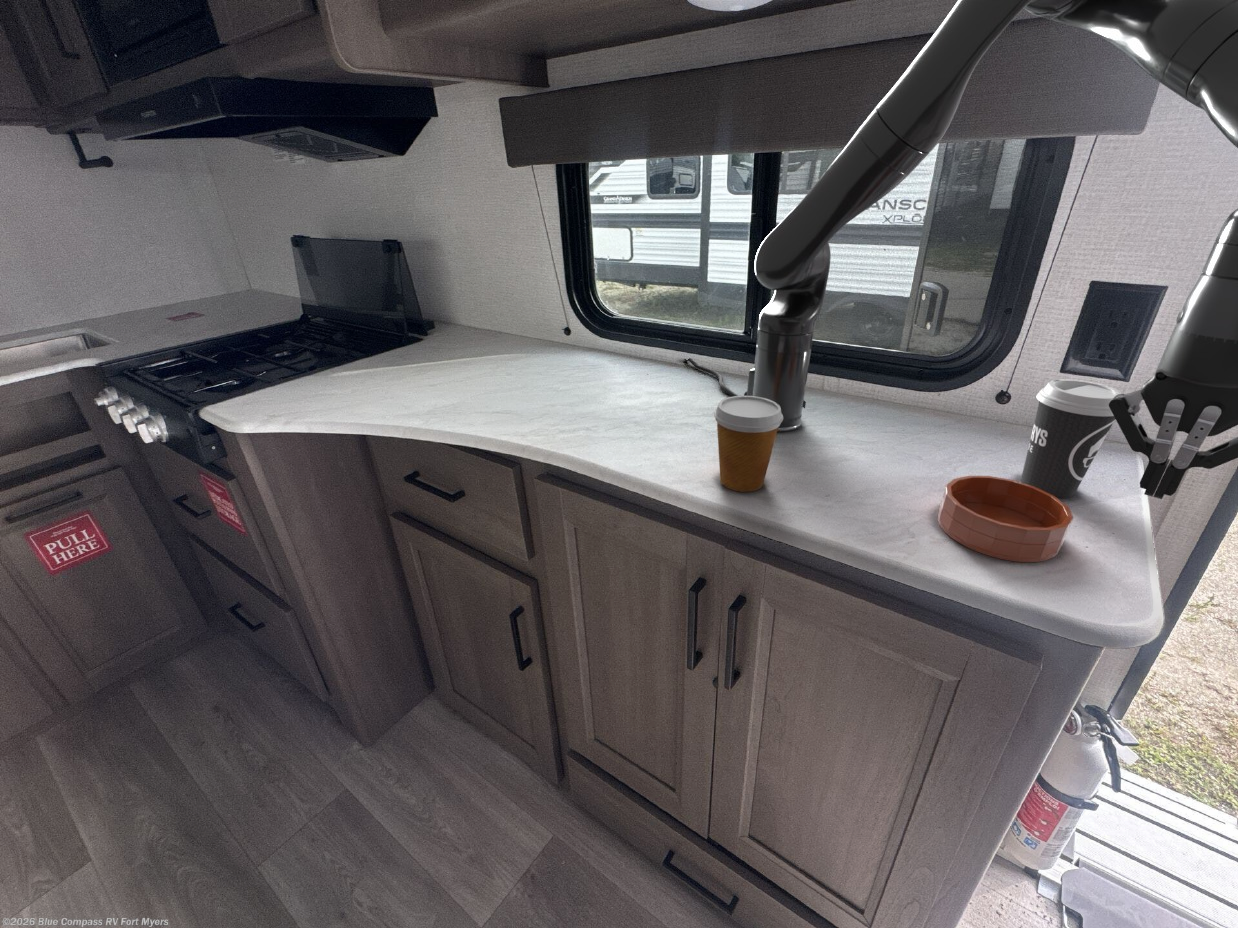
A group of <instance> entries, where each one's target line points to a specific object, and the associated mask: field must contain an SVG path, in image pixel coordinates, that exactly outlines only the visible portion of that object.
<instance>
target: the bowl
mask: <svg viewBox="0 0 1238 928" xmlns="http://www.w3.org/2000/svg"><path fill="white" fill-rule="evenodd" d="M1073 521H1074V515H1073V513H1072V511H1071V509H1070V507H1069V506H1068V505H1067V504H1066V503H1065V502H1063V501H1061V499H1060V498H1057V497H1055V496H1053V495H1051V494H1049V493H1047V492H1045V491H1043V490H1041V489H1039V488H1036V487H1034V486H1031V485H1028V484H1024V483H1021V481H1017V480H1014V479H1010V478H1004V477H998V476H992V475H965V476H961V477H956V478H953V479H952V480H951V481H949V482H948V483H947V484H946V485H945V488H944V491H943V495H942V498H941V500H940V505H939V508H938V515H937V522H938V525H939V527H940V528H941V530H942V531H943V532H944V533H945V534H946V535H947V536H949V537H950V538H951V539H952V540H954V541H955V542H957V543H958V544H960V545H962V546H964V547H966V548H968V549H970V550H973V551H974V552H976V553H980V554H982V555H986V556H989V557H992V558H996V559H1000V560H1005V561H1010V562H1017V563H1037V562H1044V561H1048V560H1050V559H1053V558H1054V557H1056V556H1057V555H1058V553H1059V552H1060V550H1061V548H1062V547H1063V544H1064V542H1065V539H1066V537H1067V535H1068V532H1069V531H1070V528H1071V525H1072V523H1073Z"/></svg>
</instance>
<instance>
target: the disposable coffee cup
mask: <svg viewBox="0 0 1238 928" xmlns="http://www.w3.org/2000/svg"><path fill="white" fill-rule="evenodd" d="M713 415H714V418H715V421H716V427H717V428H716V430H717V446H718V462H719V463H718V464H719V482H720V484H721V485H722V486H724V487H725V488H727V489H729V490H732V491H735V492H743V493H744V492H748V493H749V492H755V491H757V490H759V489H761V488H762V487H763V486H764V483H765V479H766V475H767V472H768V468H769V464H770V460H771V457H772V453H773V450H774V445H775V442H776V438H777V434H778V432H779V431H778V427H779V426H780V424H781V422H782V421H783V415H782V413H781V407H780V406H779V405H778V404H777V403H776V402H774V401H772V400H769V399H766V398H762V397H755V396H744V395H738V396H733V397H731V396H729V397H725V398H723V399H721V400H719V402H718V404H717V407H716V408H715V409H714V411H713Z"/></svg>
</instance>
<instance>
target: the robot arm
mask: <svg viewBox="0 0 1238 928" xmlns="http://www.w3.org/2000/svg"><path fill="white" fill-rule="evenodd" d="M1023 10H1025V11H1026V12H1028V13H1029V14H1031V15H1033V16H1035V17H1038V18H1043V19H1046V20H1050V21H1054V22H1056V23H1060V24H1064V25H1067V26H1070V27H1073V28H1076V29H1079V30H1082V31H1085V32H1088V33H1090V34H1092V35H1094V36H1097V37H1098V38H1101V39H1102V40H1104V41H1106V42H1108V43H1110V44H1111V45H1113V46H1115V47H1116V49H1118V50H1120V51H1121V52H1122V53H1123V54H1125V55H1126V56H1127V57H1128V58H1129V59H1130V60H1131V61H1133V62H1134V63H1135V64H1136V65H1137V66H1138V67H1140V69H1141V70H1143V71H1144V72H1145V73H1147V74H1148V75H1149V76H1151V77H1152V78H1153V79H1154V80H1156V81H1157V82H1159V83H1160V84H1161V85H1163V86H1165V87H1166V88H1168V89H1169V90H1170V91H1171V92H1173V93H1175V94H1176V95H1178V96H1179V97H1181V98H1182V99H1184V100H1185V101H1187V102H1188V103H1190V104H1192V105H1193V106H1195V107H1197V108H1198V109H1201V110H1203V111H1204V112H1205V113H1206V115H1207V116H1208V118H1209V120H1210V121H1211V122H1212V123H1213V125H1215V127H1216V128H1217V129H1218V130H1219V131H1220V132H1221V133H1222V135H1223V136H1224V137H1225V138H1226V139H1227V140H1228V141H1229V142H1230V143H1231V144H1232V145H1233V146H1234V147H1235V148H1236V149H1238V0H957V2H956V3H955V5H954V6H953V7H952V9H951V10H950V12H949V13H948V14H947V16H946V17H945V19H944V20H943V21H942V23H941V24H940V25H939V27H938V28H937V30H936V31H935V32H934V33H933V35H932V36H931V38H930V39H929V40H928V41H927V43H926V44H925V45H924V46H923V48H922V49H921V50H920V52H919V53H918V54H917V56H916V57H915V58H914V60H913V61H912V62H911V63H910V65H909V66H908V67H907V69H906V70H905V71H904V73H902V75H901V76H900V77H899V79H898V80H897V81H896V83H895V84H894V85H893V87H891V88H890V90H889V91H888V93H886V94H885V96H884V97H883V98H882V99H881V100H880V102H879V103H878V104H877V105H876V106H875V107H874V109H873V110H872V111H871V113H870V114H869V115H868V116H867V118H866V119H865V120H864V121H863V123H861V125H860V126H859V127H858V129H857V130H856V131H855V132H854V134H853V135H852V137H851V138H850V140H849V141H848V142H847V144H845V146H844V147H843V149H842V150H841V151H840V152H839V153H838V155H837V156H836V157H835V159H834V160H833V161H832V162H831V163H830V165H829V166H828V167H827V168H826V170H825V171H824V172H823V174H822V175H821V176H820V177H819V178H818V180H817V182H816V183H815V184H814V185H813V187H812V188H811V189H810V190H809V192H808V193H807V194H806V195H805V196H804V197H803V199H801V201H800V202H799V203H798V204H797V205H796V206H795V207H794V208H793V209H792V210H791V211H790V212H788V214H787V215H786V216H785V217H784V218H783V219H782V221H780V222H779V223H778V224H777V226H776V227H775V228H773V229H772V231H770V233H769V234H768V235H767V236H766V237H765V238H764V240H763V241H762V242H761V244H760V246H759V248H758V249H757V252H756V255H755V259H754V273H755V277H756V279H757V281H758V282H759V284H760V285H762V286H763V287H765V288H766V289H769V290H772V291H774V293H773V296H772V297H771V300H770V301H769V303H768V304H767V305H766V306H765V307H764V308H763V309H762V310H761V312H760V314H759V317H758V324H757V325H758V326H757V327H758V328H757V336H756V347H755V358H754V367H753V368H752V369H750V370H749V371H748V377H747V378H748V379H747V388H746V389H747V390H746V391H745V392H744V393H743V396H755V397H762V398H766V399H769V400H772V401H774V402H776V403H777V404H778V405H779V406H780V407H781V413H782V415H783V421H782V422H781V424H780V426H779V427H778V431H777V432H790V431H794V430H797V429H798V428H800V427H801V425H802V417H803V409H806V405H807V401H805V394H806V388H807V381H808V374H809V367H810V360H811V353H812V346H813V339H814V333H815V326H816V322H817V320H818V318H819V316H820V314H821V313H822V312H821V311H822V309H823V306H824V301H825V295H826V289H827V286H828V285H827V284H828V280H829V276H830V268H831V259H832V258H831V254H832V253H831V246H830V242H829V241H830V240H831V239H832V238H833V237H834V236H835V235H836V234H837V233H838V232H839V231H840V230H841V229H843V227H844V226H846V225H847V224H848V223H849V222H851V221H852V220H854V219H855V218H856V217H857V216H859V215H860V214H862V213H864V212H865V211H866V210H867V209H870V207H872V206H874V204H876V203H878V202H879V201H880V200H881V199H883V198H884V197H885V196H887V195H888V194H889V193H891V192H892V191H893V190H894V189H895V188H897V187H898V186H899V185H900V184H901V183H902V182H903V181H904V180H905V179H906V178H907V177H908V176H910V174H912V172H913V171H914V170H915V169H916V168H917V167H918V166H919V165H920V164H921V163H922V162H923V161H924V160H925V159H926V157H927V156H929V154H930V153H931V152H932V151H933V150H934V149H935V147H937V145H938V144H939V142H941V140H942V138H943V137H944V136H945V134H946V133H947V130H948V129H949V127H950V125H951V123H952V121H953V119H954V116H955V114H956V112H957V110H958V107H959V105H960V103H961V100H962V98H963V96H964V92H965V90H966V88H967V85H968V83H969V81H970V79H971V76H972V74H974V73H973V72H974V71H975V69H976V67H977V66H978V64H979V63H980V61H981V59H982V58H983V56H984V55H985V54H986V52H987V51H988V50H989V49H990V47H991V46H992V44H993V43H994V42H995V41H996V40H997V39H998V37H1000V35H1001V34H1002V33H1003V32H1004V31H1005V29H1006V28H1007V27H1008V26H1009V25H1010V24H1011V23H1012V21H1013V20H1014V19H1015V18H1016V17H1017V16H1018V15H1019V14H1020V13H1021V12H1022V11H1023ZM1201 271H1202V273H1200V275H1199V277H1198V279H1197V281H1196V282H1195V284H1194V286H1193V288H1192V289H1191V290H1190V292H1189V294H1188V296H1187V297H1186V299H1185V302H1184V304H1183V306H1182V309H1181V310H1180V311H1179V312H1178V314H1177V317H1176V320H1175V321H1176V323H1175V325H1174V327H1173V330H1172V333H1171V335H1170V337H1169V340H1168V341H1167V344H1166V346H1165V349H1164V352H1163V354H1162V357H1161V358H1160V361H1159V363H1158V365H1157V367H1156V370H1155V371H1154V374H1153V376H1152V377H1150V378H1149V379H1148V380H1147V381H1146V382H1144V384H1143V385H1142V386H1141V389H1137V390H1135V391H1132V392H1128V393H1126V394H1125V393H1122V394H1118V395H1116V396H1115V397H1114V398H1113V399H1112V400H1111V401H1110V403H1109V408H1110V410H1111V411H1112V413H1113V415H1114V417H1115V421H1116V423H1117V425H1118V426H1119V429H1120V430H1121V432H1122V435H1123V436H1124V438H1125V440H1126V441H1127V444H1128V445H1129V448H1130V449H1131V450H1132V451H1133V452H1134V453H1141V454H1143V455H1145V456H1146V457H1147V458H1148V464H1147V465H1146V468H1145V469H1144V472H1143V474H1142V476H1141V478H1140V481H1139V488H1140V489H1144V490H1145V491H1144V493H1143V495H1145V496H1147V497H1153V498H1155V499H1159V500H1162V499H1163V498H1164V496H1169V497H1171V496H1173V495H1175V493H1176V492H1177V490H1178V488H1179V486H1180V485H1181V482H1182V480H1183V478H1184V476H1185V474H1186V473H1187V471H1188V470H1189V469H1192V468H1203V469H1206V470H1211V469H1215V468H1216V467H1217V468H1218V467H1219V466H1222V465H1224V464H1227V463H1229V462H1231V461H1234V460H1236V459H1238V436H1237V437H1234V438H1232V439H1230V440H1228V441H1225V442H1223V443H1220V444H1218V445H1216V446H1214V447H1212V448H1209V449H1207V450H1205V451H1204V450H1200V449H1201V446H1202V445H1203V444H1204V442H1205V440H1206V439H1207V437H1208V438H1209V437H1214V436H1217V435H1220V434H1222V433H1224V432H1226V431H1228V430H1230V429H1233V428H1235V427H1237V426H1238V208H1236V209H1235V210H1233V211H1232V212H1231V213H1230V214H1229V215H1228V216H1227V218H1226V219H1225V221H1224V222H1223V224H1222V225H1221V227H1220V230H1219V232H1218V234H1217V235H1216V238H1215V241H1214V243H1213V245H1212V247H1211V249H1210V252H1209V254H1208V257H1207V259H1206V261H1205V264H1204V266H1203V269H1202V270H1201ZM687 362H689V363H690V364H691V365H692V366H694V367H695V368H696V369H698V370H700V371H703V372H705V373H708V374H711V375H712V376H714V377H716V378H717V379H718V384H719V387H720V389H721V390H722V391H724V393H726V394H727V395H729V397H733V396H739V395H738V394H737V393H735V392H733V391H732V390H731V389H730V388H729V387H727V386H726V385H725V384H724V377H723V376H722V375H721V373H719V372H717V371H716V370H714V369H711V368H708V367H706V366H703V365H701V364H699V363H697V362H696V361H695V360H694V359H693V358H691V357H690V358H689V359H688V360H686V359H685V358H684V359H683V360H682V363H687ZM1142 401H1143V402H1144V404H1145V406H1146V408H1147V410H1148V412H1149V414H1150V416H1151V419H1152V421H1153V423H1155V425H1156V426H1158V427H1159V429H1158V431H1157V434H1156V437H1155V440H1154V439H1152V438H1151V437H1150V435H1149V433H1148V431H1147V429H1146V427H1145V426H1144V424H1143V422H1142V420H1141V418H1140V415H1138V413H1139V412H1140V411H1141V409H1142V408H1143V407H1142ZM1178 432H1181V433H1185V434H1187V435H1186V437H1185V438H1184V440H1183V442H1182V444H1181V446H1180V447H1179V449H1177V450H1178V451H1177V452H1176V454H1175V456H1174V458H1173V459H1171V458H1170V455H1171V453H1172V449H1173V446H1174V443H1175V440H1176V438H1177V437H1176V436H1177V435H1178ZM1199 450H1200V451H1199ZM1169 458H1170V459H1169Z"/></svg>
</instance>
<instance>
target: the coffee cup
mask: <svg viewBox="0 0 1238 928" xmlns="http://www.w3.org/2000/svg"><path fill="white" fill-rule="evenodd" d="M1118 394H1123V393H1122V392H1121V391H1120V390H1119V389H1117V388H1115V387H1112V386H1110V385H1106V384H1102V383H1098V382H1094V381H1089V380H1082V379H1071V378H1059V379H1058V378H1057V379H1052V380H1050V381H1049V382H1048V383H1047V384H1046V385H1045V386H1044V387H1042V388H1041V389H1040V390H1039V391H1038V393H1037V394H1036V396H1035V397H1036V399H1037V401H1038V403H1037V409H1036V413H1035V417H1034V422H1033V426H1032V430H1031V431H1032V432H1031V434H1030V439H1029V443H1028V448H1027V452H1026V456H1025V460H1024V464H1023V470H1022V473H1021V478H1020V482H1021V483H1024V484H1028V485H1031V486H1034V487H1036V488H1039V489H1041V490H1043V491H1045V492H1047V493H1049V494H1051V495H1053V496H1055V497H1057V498H1058V499H1068V498H1072V497H1074V496H1075V494H1076V493H1077V490H1078V489H1079V487H1080V485H1081V483H1082V482H1083V479H1084V477H1085V476H1086V474H1087V472H1088V470H1089V468H1090V467H1091V465H1092V463H1093V461H1094V459H1095V458H1096V455H1097V454H1098V452H1099V450H1100V448H1101V446H1102V445H1103V443H1104V440H1105V439H1106V437H1107V435H1108V433H1109V432H1110V430H1111V429H1112V427H1113V425H1114V423H1115V421H1116V419H1115V417H1114V415H1113V413H1112V411H1111V410H1110V408H1109V403H1110V401H1111V400H1112V399H1113V398H1114V397H1115V396H1116V395H1118Z"/></svg>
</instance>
